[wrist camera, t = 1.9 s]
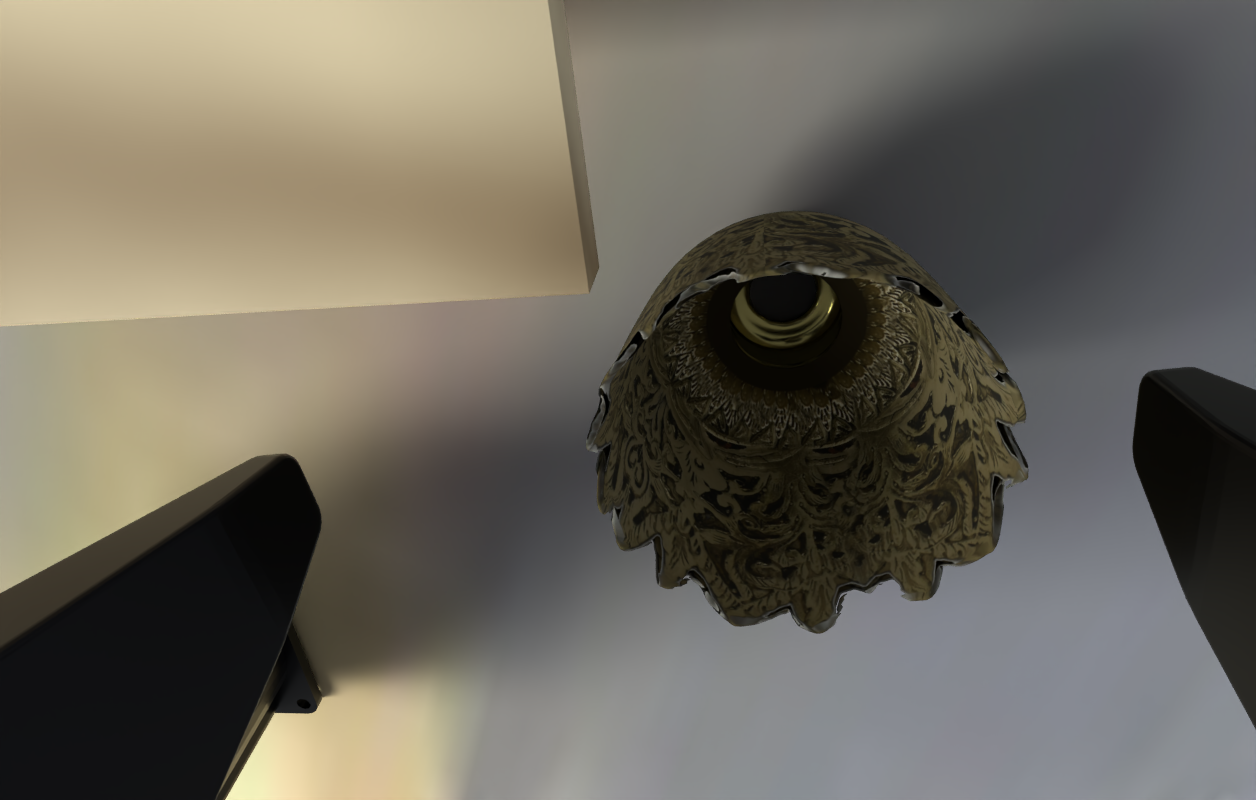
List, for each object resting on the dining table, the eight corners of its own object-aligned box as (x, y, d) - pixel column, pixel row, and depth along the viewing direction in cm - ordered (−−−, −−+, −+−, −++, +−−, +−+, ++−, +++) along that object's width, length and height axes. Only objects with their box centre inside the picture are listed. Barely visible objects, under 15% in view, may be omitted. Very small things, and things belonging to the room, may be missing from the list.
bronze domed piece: (880, 83, 19) (957, 193, 12) (976, 357, 22) (1081, 569, 15) (583, 220, 21) (507, 377, 14) (707, 451, 24) (692, 671, 17)
